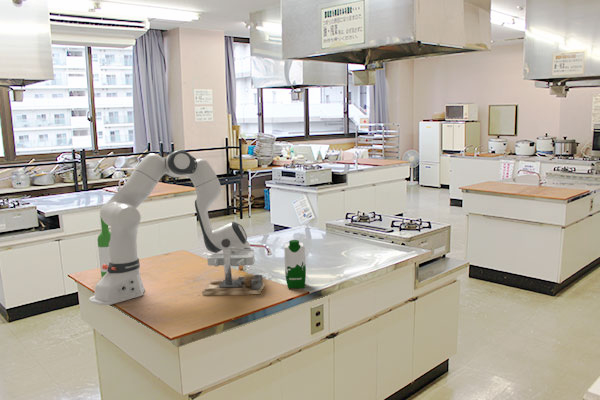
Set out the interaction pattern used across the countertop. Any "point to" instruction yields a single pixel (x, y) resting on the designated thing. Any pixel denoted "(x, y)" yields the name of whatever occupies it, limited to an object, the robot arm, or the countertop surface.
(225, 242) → the ball-top joystick lever
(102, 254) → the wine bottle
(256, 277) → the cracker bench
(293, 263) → the milk carton
